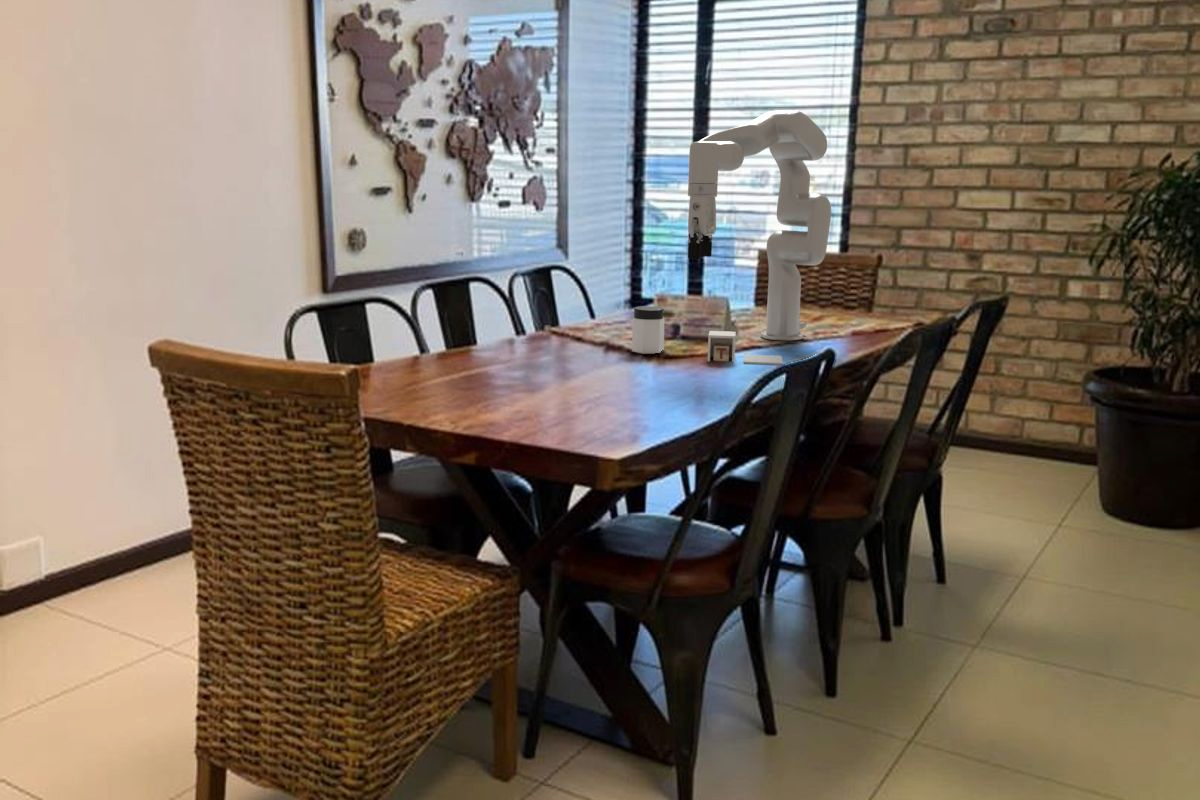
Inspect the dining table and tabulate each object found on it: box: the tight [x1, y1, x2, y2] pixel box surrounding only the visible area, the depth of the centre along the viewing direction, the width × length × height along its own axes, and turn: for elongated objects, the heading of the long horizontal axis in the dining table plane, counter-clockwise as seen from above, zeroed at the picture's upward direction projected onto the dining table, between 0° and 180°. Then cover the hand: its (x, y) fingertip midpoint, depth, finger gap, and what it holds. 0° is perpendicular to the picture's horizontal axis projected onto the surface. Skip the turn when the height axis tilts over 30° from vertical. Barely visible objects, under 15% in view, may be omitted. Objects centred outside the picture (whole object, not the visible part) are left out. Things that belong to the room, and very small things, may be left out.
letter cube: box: [713, 343, 730, 362], centre depth 273 cm, size 4×4×4 cm
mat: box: [743, 354, 784, 366], centre depth 272 cm, size 10×10×1 cm
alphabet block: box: [707, 330, 737, 363], centre depth 272 cm, size 7×7×7 cm
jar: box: [631, 305, 666, 355], centre depth 282 cm, size 9×8×12 cm
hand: (699, 257), depth 268 cm, fingers open, 9 cm apart
